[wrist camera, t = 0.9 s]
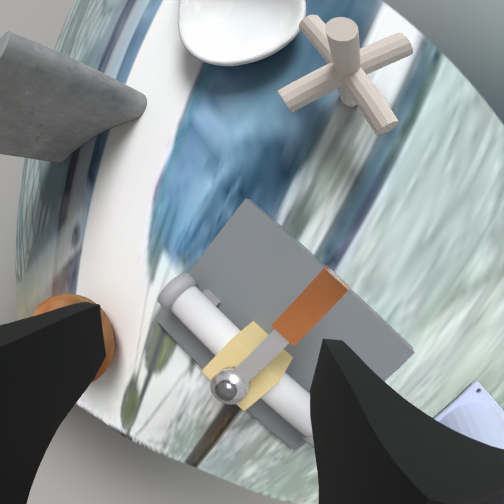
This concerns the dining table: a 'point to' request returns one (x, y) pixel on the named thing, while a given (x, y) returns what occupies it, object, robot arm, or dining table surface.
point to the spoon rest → (238, 28)
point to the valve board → (268, 319)
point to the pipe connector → (347, 69)
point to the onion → (108, 335)
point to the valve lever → (281, 335)
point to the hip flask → (56, 101)
